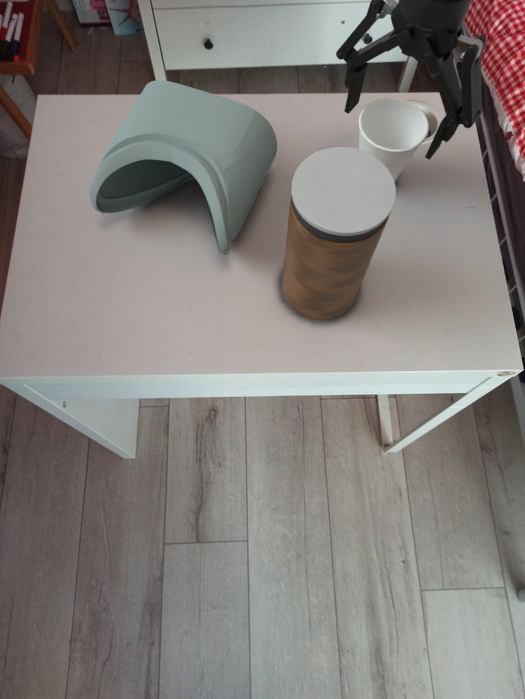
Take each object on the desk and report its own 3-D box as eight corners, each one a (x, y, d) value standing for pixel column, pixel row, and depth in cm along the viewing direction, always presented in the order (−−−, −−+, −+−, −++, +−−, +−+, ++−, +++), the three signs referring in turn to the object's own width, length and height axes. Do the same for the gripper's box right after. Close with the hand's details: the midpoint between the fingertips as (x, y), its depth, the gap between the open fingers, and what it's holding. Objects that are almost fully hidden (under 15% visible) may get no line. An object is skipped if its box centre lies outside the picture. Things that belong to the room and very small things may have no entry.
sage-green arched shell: (276, 176, 79) (278, 113, 67) (231, 273, 73) (225, 222, 61) (153, 137, 81) (134, 69, 69) (100, 227, 75) (69, 170, 63)
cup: (340, 194, 78) (353, 143, 67) (351, 146, 81) (365, 91, 71) (402, 207, 77) (424, 157, 66) (410, 158, 80) (433, 103, 70)
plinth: (370, 279, 72) (409, 193, 54) (329, 334, 69) (355, 263, 51) (310, 241, 75) (327, 145, 56) (267, 292, 72) (270, 209, 53)
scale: (409, 193, 54) (415, 179, 51) (355, 263, 51) (359, 251, 48) (327, 145, 56) (330, 130, 54) (270, 209, 53) (270, 196, 51)
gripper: (323, -59, 51) (305, 104, 71) (538, 47, 46) (454, 190, 66) (362, -95, 53) (333, 74, 73) (572, 3, 48) (480, 155, 68)
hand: (390, 129), depth 70 cm, fingers open, 13 cm apart
